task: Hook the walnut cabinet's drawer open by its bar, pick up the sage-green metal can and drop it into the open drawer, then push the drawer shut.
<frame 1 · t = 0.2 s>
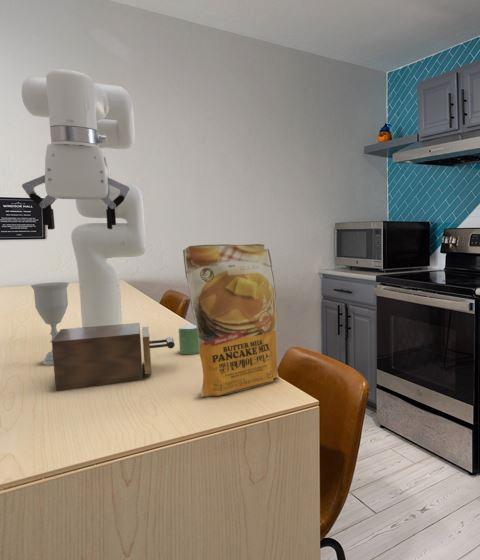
hand: (81, 229, 99), 31 cm above the table, tool pointing down, fingers open, 9 cm apart
can: (190, 351, 126), on the table
cabinet: (102, 376, 106), on the table
chalice: (56, 362, 117), on the table
drawer: (126, 351, 108), point 5 cm above the table, slide at 0.5 cm
pancake mix bag: (239, 387, 100), on the table
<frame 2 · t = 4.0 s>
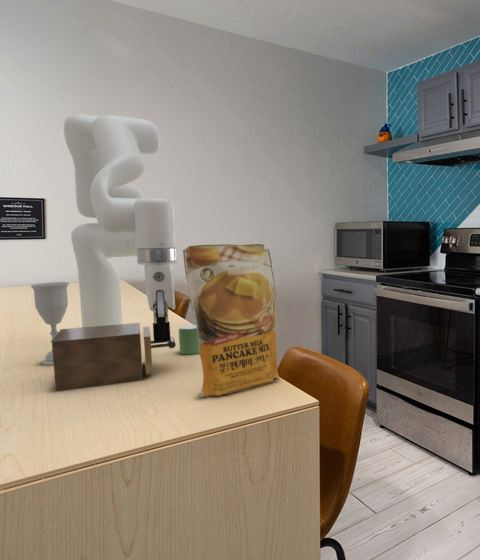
hand: (162, 340, 111), 6 cm above the table, tool pointing down, fingers closed
drawer: (127, 351, 108), point 5 cm above the table, slide at 0.7 cm, touching gripper
everything else where it was.
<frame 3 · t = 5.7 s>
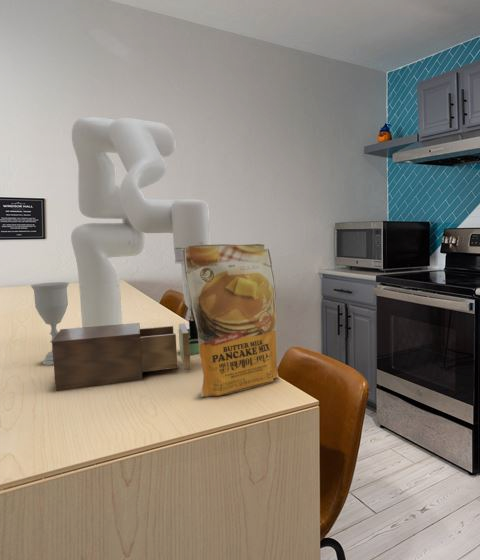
hand: (198, 337, 114), 6 cm above the table, tool pointing down, fingers closed
drawer: (165, 347, 111), point 5 cm above the table, slide at 8.0 cm, touching gripper
everything else where it was.
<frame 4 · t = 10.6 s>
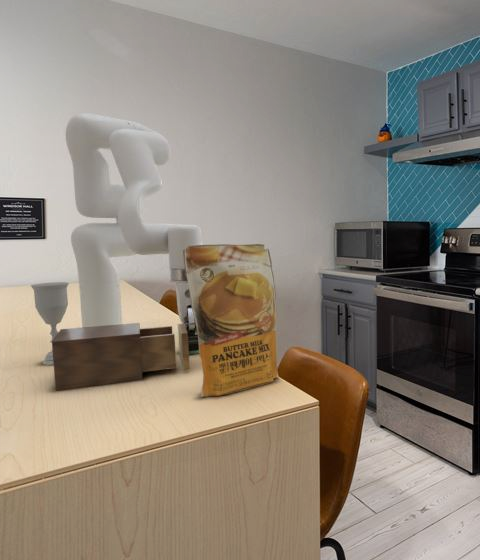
hand: (190, 347, 126), 1 cm above the table, tool pointing down, fingers closed on can, 5 cm apart
can: (190, 351, 126), on the table, touching gripper
drawer: (164, 347, 111), point 5 cm above the table, slide at 7.7 cm
everything else where it was.
when the fingers open (8 cm above the table, at t = 16.1 s): can stays where it is, resting on drawer.
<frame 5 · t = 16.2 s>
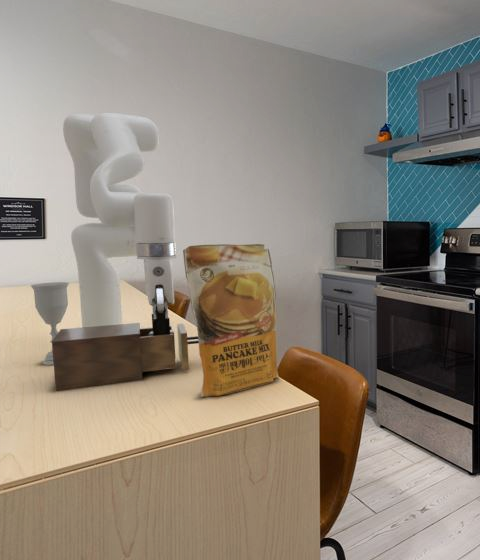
hand: (161, 333, 110), 8 cm above the table, tool pointing down, fingers open, 5 cm apart
can: (162, 360, 111), point 2 cm above the table, touching drawer
drawer: (163, 347, 111), point 5 cm above the table, slide at 7.6 cm, touching can
everything else where it was.
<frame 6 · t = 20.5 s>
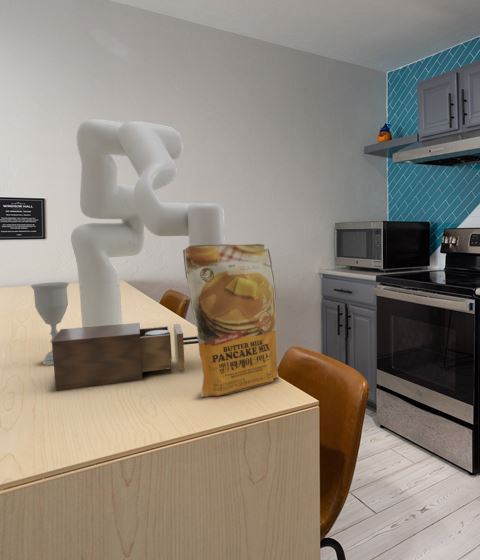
hand: (212, 339, 116), 6 cm above the table, tool pointing down, fingers closed
drawer: (160, 347, 111), point 5 cm above the table, slide at 6.8 cm, touching can, gripper
everything else where it was.
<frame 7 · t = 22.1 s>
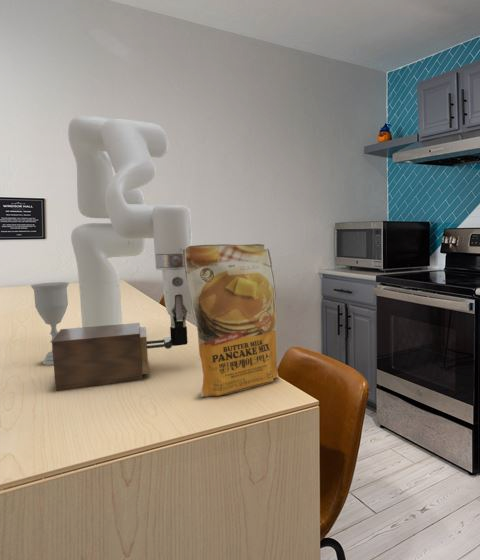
hand: (179, 344, 112), 5 cm above the table, tool pointing down, fingers closed
can: (122, 364, 108), point 2 cm above the table, touching drawer
drawer: (123, 351, 107), point 5 cm above the table, slide at 0.0 cm, touching cabinet, can, gripper
everything else where it was.
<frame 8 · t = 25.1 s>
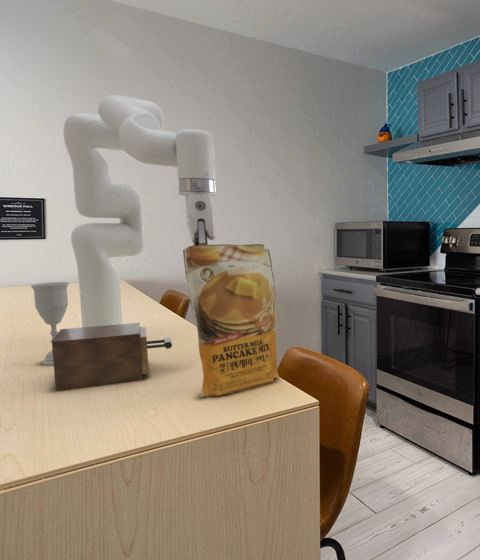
hand: (201, 271, 113), 21 cm above the table, tool pointing down, fingers closed
drawer: (123, 351, 107), point 5 cm above the table, slide at 0.0 cm, touching cabinet, can
everything else where it was.
at the end: drawer pulled out 8.0 cm at the most during the clip and back in by the end; can inside the target area in the cabinet (3.8 cm from its centre), point 2.0 cm above the cabinet's base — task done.
